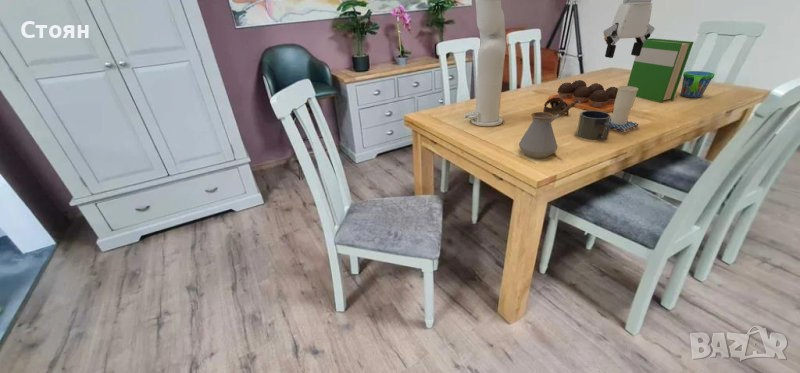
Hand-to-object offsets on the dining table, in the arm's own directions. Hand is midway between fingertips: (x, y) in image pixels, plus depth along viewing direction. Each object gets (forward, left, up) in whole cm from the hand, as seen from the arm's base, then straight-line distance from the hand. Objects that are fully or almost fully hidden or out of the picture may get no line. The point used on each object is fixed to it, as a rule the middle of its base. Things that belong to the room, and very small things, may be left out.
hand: (622, 56), depth 113 cm
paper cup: (+4, -2, -23) cm, 23 cm away
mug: (-11, -9, -25) cm, 29 cm away
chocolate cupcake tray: (+12, +29, -25) cm, 40 cm away
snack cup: (+60, +24, -25) cm, 70 cm away
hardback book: (+43, +29, -25) cm, 58 cm away
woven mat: (+3, -2, -25) cm, 25 cm away
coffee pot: (-30, -14, -25) cm, 42 cm away
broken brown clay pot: (-9, +19, -25) cm, 33 cm away
